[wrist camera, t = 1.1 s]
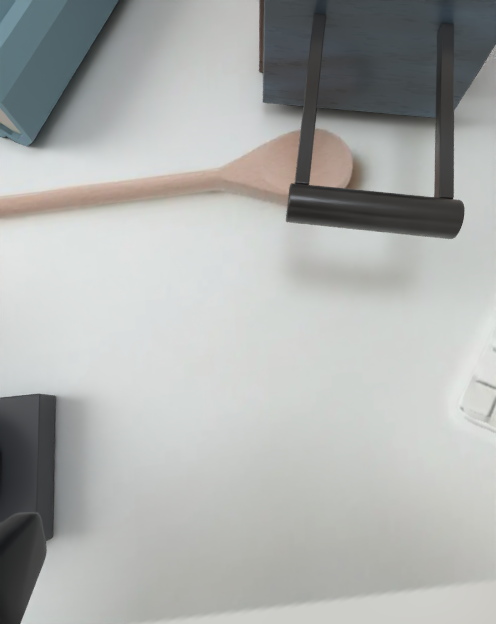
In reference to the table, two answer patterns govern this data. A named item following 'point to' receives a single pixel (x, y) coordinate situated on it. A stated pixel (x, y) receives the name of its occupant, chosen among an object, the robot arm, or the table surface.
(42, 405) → the control block
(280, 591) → the table surface
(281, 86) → the drawer
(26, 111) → the book
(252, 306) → the table surface
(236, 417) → the table surface
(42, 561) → the robot arm
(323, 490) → the table surface
